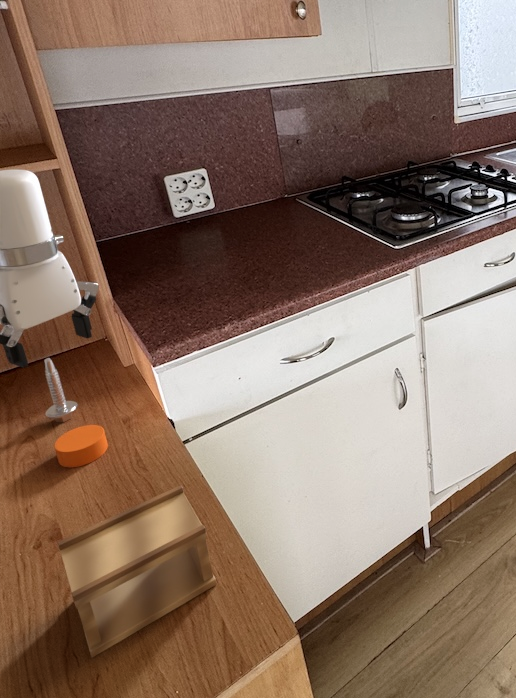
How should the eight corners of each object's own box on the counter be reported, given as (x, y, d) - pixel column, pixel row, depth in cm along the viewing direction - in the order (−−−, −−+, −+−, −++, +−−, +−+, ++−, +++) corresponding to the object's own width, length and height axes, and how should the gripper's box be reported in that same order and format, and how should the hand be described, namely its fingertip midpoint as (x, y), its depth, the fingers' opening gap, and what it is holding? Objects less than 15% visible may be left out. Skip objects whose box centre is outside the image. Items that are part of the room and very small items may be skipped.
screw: (60, 410, 110) (85, 410, 110) (41, 426, 106) (68, 426, 106) (43, 350, 106) (70, 351, 106) (23, 365, 101) (51, 365, 101)
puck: (52, 471, 95) (47, 456, 94) (66, 444, 101) (61, 429, 100) (102, 461, 98) (98, 446, 96) (112, 435, 104) (108, 421, 103)
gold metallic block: (91, 658, 67) (72, 597, 64) (75, 599, 74) (57, 541, 71) (216, 584, 77) (205, 527, 73) (192, 538, 83) (180, 484, 80)
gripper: (69, 231, 97) (92, 322, 102) (-59, 267, 82) (-23, 371, 88) (98, 238, 94) (121, 331, 100) (-28, 277, 79) (6, 383, 85)
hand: (53, 349), depth 94 cm, fingers open, 9 cm apart
